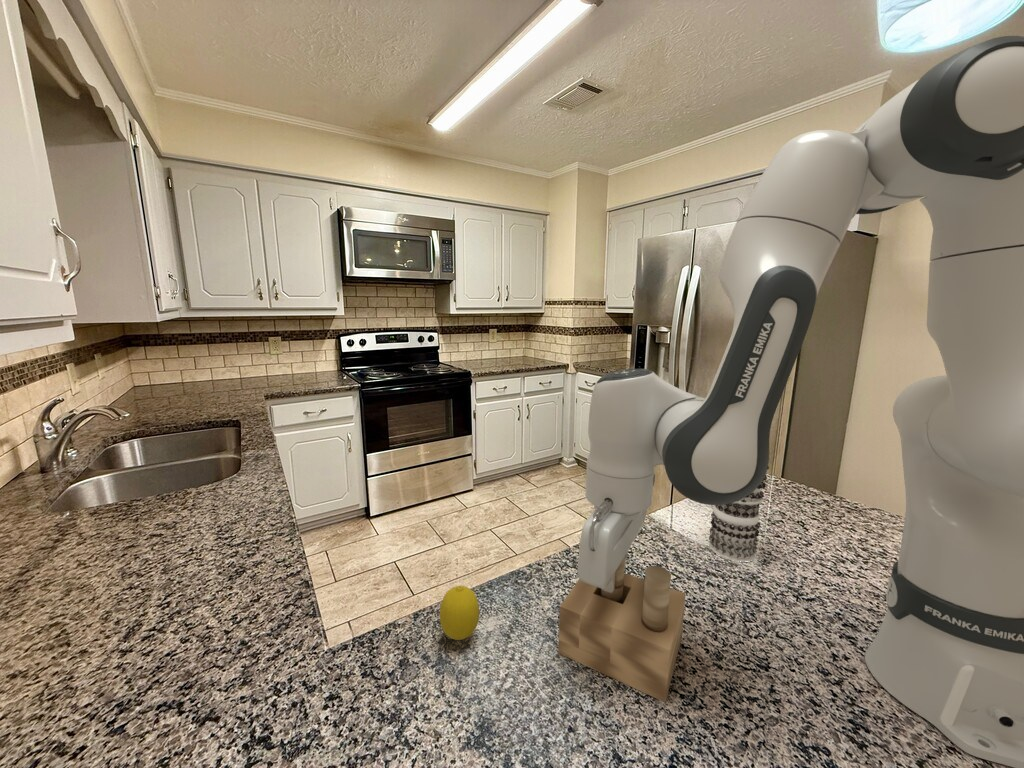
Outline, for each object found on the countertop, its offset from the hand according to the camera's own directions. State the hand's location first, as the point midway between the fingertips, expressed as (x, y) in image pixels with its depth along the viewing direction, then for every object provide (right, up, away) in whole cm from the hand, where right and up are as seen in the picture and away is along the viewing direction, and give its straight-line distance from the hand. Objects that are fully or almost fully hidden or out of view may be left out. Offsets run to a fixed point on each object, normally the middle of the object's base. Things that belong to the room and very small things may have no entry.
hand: (613, 580), depth 58 cm
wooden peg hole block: (+1, -9, -1) cm, 9 cm away
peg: (0, -5, +1) cm, 5 cm away
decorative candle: (+30, -6, +24) cm, 39 cm away
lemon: (-22, -9, 0) cm, 23 cm away
